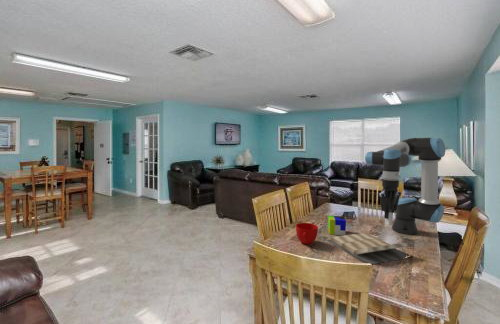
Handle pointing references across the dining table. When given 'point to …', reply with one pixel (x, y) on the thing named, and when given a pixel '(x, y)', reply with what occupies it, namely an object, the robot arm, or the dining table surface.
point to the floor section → (366, 241)
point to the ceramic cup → (306, 232)
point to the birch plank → (380, 248)
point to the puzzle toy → (336, 225)
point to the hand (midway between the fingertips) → (388, 224)
